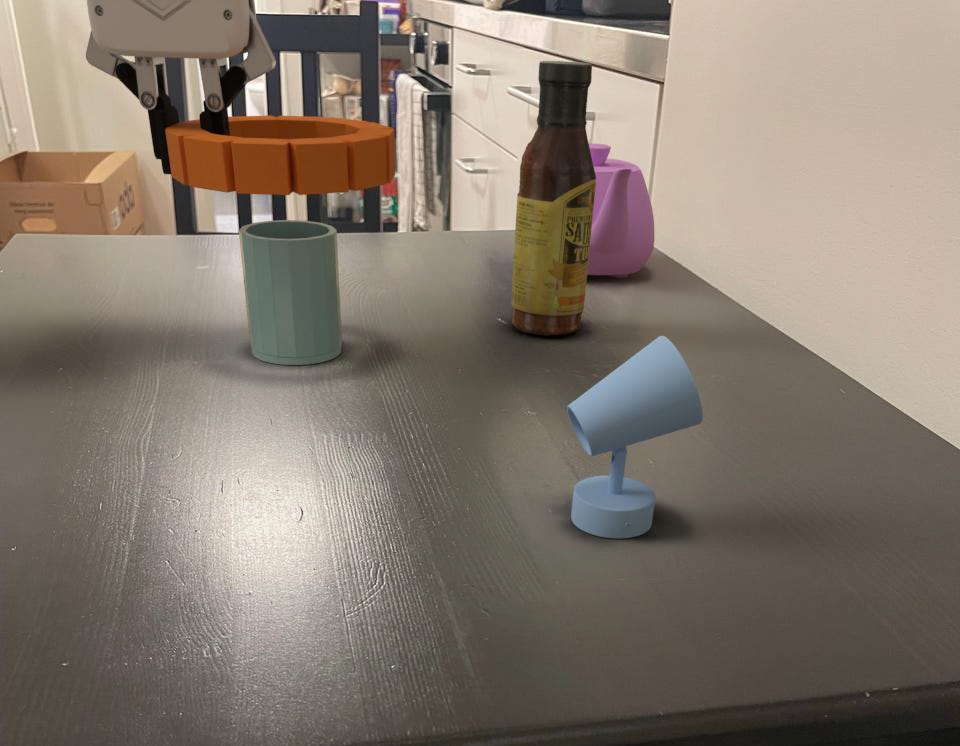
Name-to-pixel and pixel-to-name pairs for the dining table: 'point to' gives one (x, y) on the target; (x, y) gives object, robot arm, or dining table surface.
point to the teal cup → (292, 291)
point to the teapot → (619, 217)
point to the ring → (283, 155)
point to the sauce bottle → (555, 207)
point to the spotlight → (629, 435)
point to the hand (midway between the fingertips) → (195, 169)
